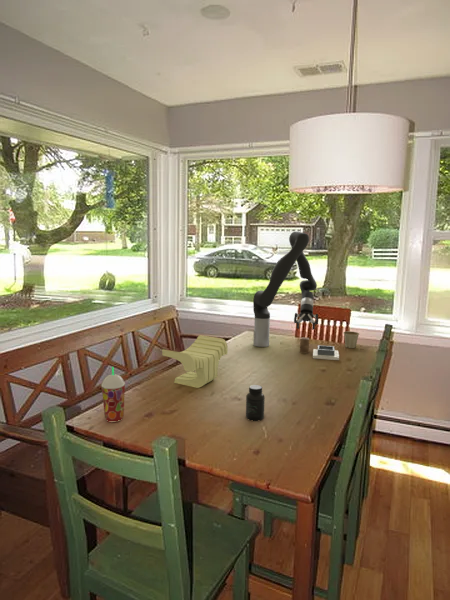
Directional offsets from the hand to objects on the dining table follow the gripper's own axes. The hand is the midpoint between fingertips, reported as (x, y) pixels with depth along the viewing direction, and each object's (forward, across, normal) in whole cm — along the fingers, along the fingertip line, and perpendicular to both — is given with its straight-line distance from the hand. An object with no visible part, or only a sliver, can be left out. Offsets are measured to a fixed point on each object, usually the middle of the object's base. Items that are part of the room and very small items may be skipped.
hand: (305, 328), depth 256 cm
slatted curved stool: (+58, -47, -42) cm, 86 cm away
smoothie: (+91, -65, -74) cm, 134 cm away
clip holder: (+18, +12, -1) cm, 21 cm away
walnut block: (+14, 0, +3) cm, 14 cm away
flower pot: (+1, +27, +16) cm, 31 cm away
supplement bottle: (+81, -15, -64) cm, 105 cm away
